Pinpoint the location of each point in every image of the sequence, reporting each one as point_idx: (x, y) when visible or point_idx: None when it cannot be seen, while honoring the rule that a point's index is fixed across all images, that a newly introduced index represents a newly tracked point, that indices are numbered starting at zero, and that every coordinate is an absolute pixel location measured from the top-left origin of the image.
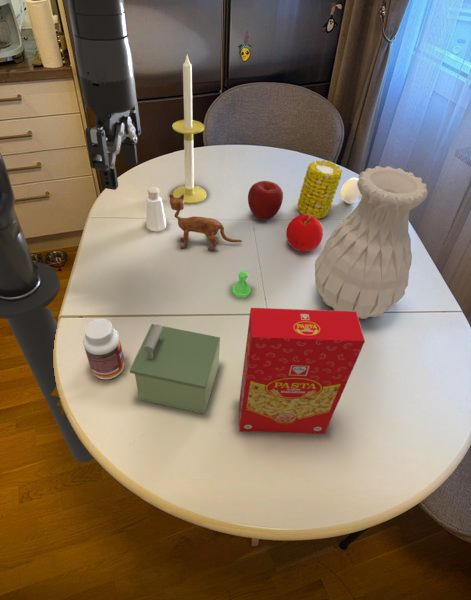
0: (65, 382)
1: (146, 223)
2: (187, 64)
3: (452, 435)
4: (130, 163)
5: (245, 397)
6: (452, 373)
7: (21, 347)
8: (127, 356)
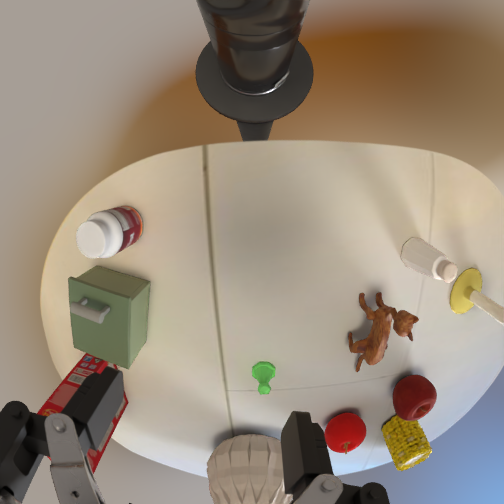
0: (106, 181)
1: (415, 239)
2: None
3: (133, 449)
4: (286, 425)
5: (65, 378)
6: (180, 466)
7: None
8: (143, 244)
